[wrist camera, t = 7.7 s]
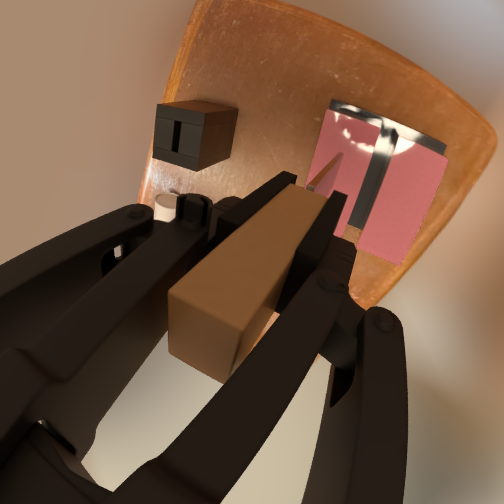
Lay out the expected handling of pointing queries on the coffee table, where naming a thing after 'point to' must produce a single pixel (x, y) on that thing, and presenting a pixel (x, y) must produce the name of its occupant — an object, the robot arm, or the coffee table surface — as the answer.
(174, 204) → the cream ceramic vase
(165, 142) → the knife block
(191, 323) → the knife
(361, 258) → the coffee table surface
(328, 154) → the cake
